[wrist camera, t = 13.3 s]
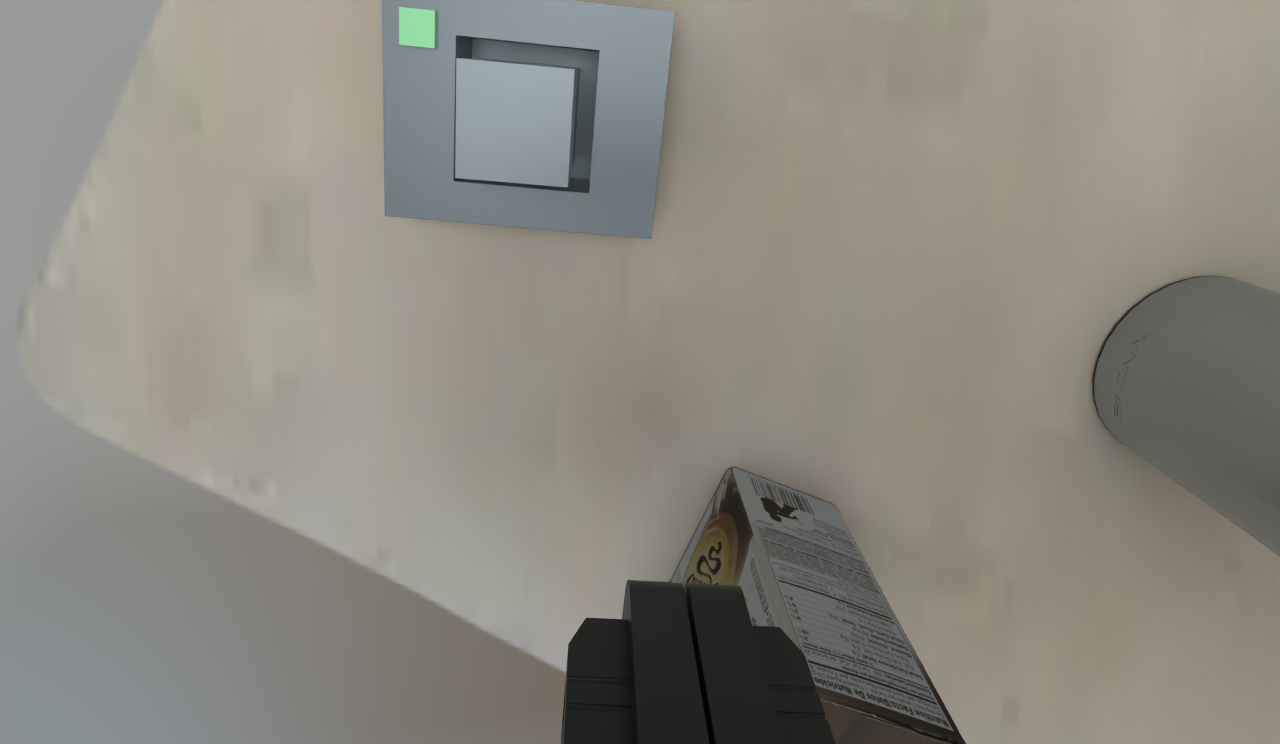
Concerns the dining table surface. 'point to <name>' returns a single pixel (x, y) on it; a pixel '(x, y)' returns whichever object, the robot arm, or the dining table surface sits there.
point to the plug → (515, 121)
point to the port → (541, 34)
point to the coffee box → (819, 608)
